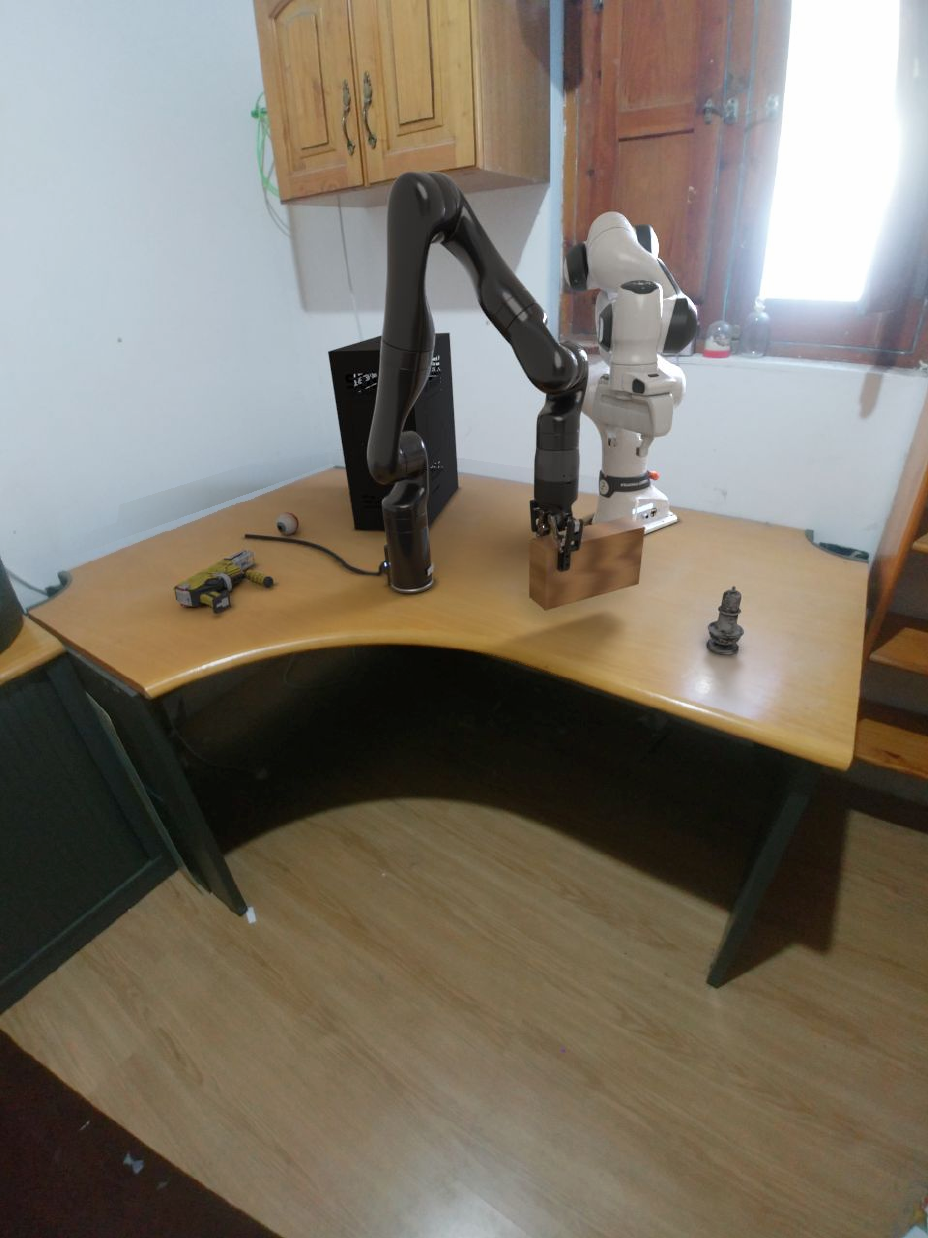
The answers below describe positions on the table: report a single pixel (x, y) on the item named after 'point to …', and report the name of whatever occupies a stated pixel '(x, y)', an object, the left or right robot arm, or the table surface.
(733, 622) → the dark grey chess piece
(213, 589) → the toy gun
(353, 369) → the cardboard box
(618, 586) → the box
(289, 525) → the eyeball
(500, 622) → the table surface
